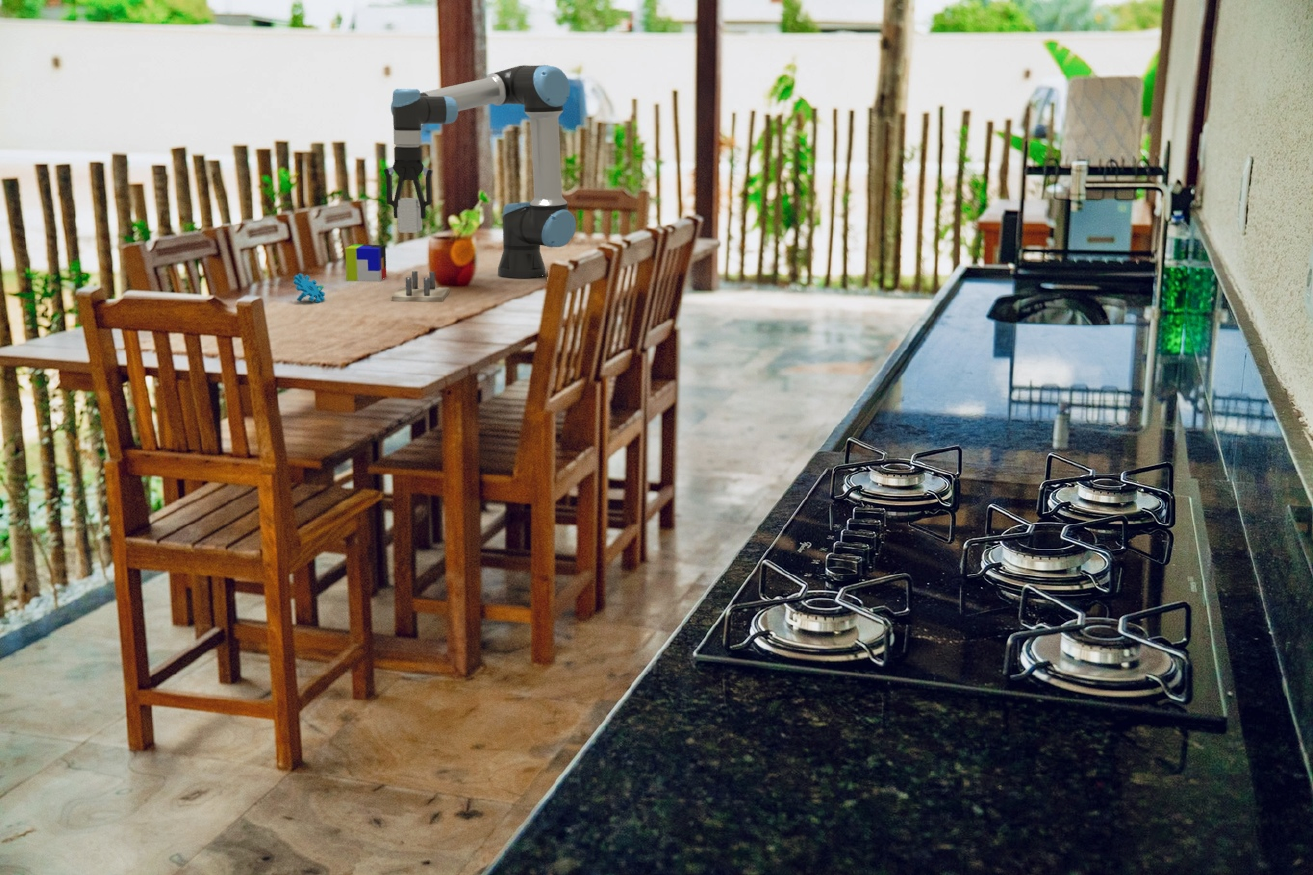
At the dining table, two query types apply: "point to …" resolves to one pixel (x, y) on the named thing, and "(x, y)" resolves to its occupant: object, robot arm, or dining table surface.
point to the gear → (308, 288)
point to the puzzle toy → (365, 262)
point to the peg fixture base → (420, 290)
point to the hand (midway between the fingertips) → (410, 230)
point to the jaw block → (408, 215)
